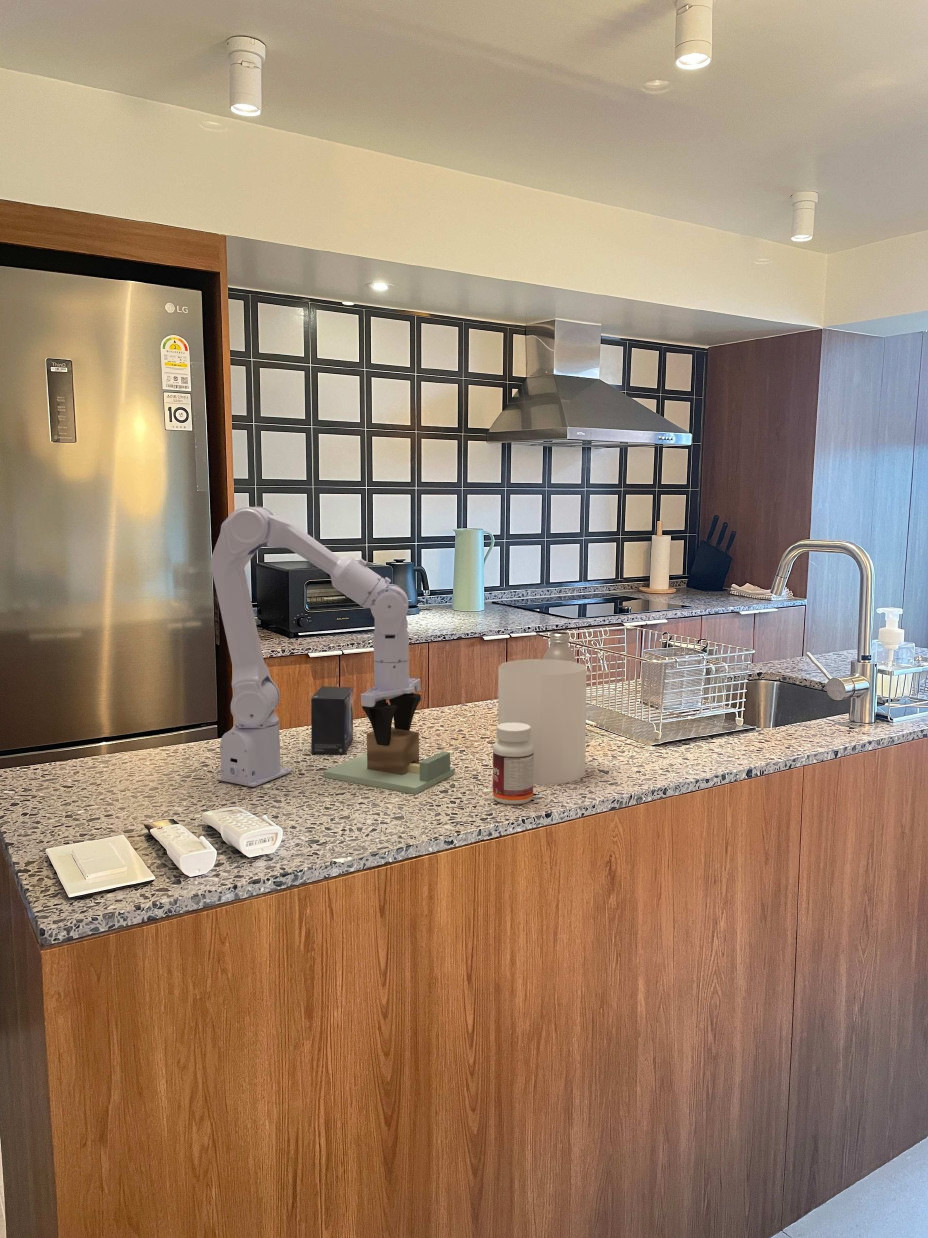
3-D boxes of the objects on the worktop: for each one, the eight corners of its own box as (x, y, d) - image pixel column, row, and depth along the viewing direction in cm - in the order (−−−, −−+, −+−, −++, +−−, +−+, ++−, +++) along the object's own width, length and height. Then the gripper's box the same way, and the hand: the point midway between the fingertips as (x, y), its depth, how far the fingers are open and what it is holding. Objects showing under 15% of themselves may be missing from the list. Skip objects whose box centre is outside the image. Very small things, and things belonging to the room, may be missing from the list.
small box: (346, 755, 158) (345, 697, 156) (310, 755, 158) (308, 697, 156) (355, 739, 168) (354, 685, 167) (321, 739, 168) (319, 685, 167)
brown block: (402, 775, 142) (402, 739, 142) (367, 769, 146) (366, 733, 145) (419, 767, 147) (418, 732, 146) (384, 761, 150) (384, 727, 149)
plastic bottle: (538, 738, 169) (539, 634, 166) (545, 729, 175) (546, 629, 173) (571, 740, 167) (573, 636, 164) (577, 731, 173) (579, 631, 171)
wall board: (415, 794, 136) (415, 769, 135) (323, 777, 145) (322, 753, 144) (454, 773, 146) (454, 750, 146) (366, 758, 155) (365, 736, 155)
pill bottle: (490, 793, 137) (490, 721, 135) (529, 791, 137) (530, 720, 136) (495, 806, 130) (495, 732, 129) (536, 805, 131) (537, 730, 130)
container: (489, 763, 153) (489, 661, 151) (566, 757, 156) (568, 657, 154) (514, 789, 139) (514, 676, 137) (598, 781, 143) (600, 672, 140)
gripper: (386, 669, 136) (387, 755, 137) (435, 655, 148) (436, 733, 150) (349, 665, 139) (351, 749, 141) (400, 651, 152) (401, 728, 153)
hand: (392, 740), depth 146 cm, fingers closed on brown block, 5 cm apart
